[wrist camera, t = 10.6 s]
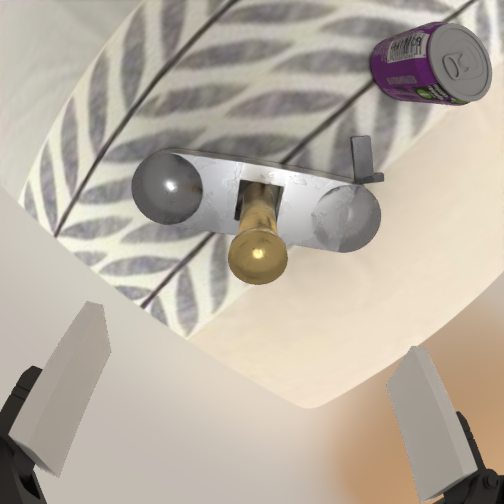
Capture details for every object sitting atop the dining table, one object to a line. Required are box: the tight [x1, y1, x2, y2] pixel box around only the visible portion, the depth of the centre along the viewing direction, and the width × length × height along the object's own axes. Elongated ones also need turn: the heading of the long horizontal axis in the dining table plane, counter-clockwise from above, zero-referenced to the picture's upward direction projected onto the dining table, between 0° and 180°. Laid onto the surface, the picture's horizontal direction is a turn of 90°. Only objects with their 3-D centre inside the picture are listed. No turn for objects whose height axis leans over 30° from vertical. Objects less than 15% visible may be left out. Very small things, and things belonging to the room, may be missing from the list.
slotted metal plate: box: [132, 148, 381, 253], centre depth 31 cm, size 7×26×3 cm, turn 81°
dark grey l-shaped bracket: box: [351, 136, 384, 184], centre depth 30 cm, size 5×3×1 cm, turn 11°
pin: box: [228, 182, 288, 285], centre depth 26 cm, size 4×4×14 cm
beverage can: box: [371, 22, 492, 106], centre depth 20 cm, size 7×7×12 cm
